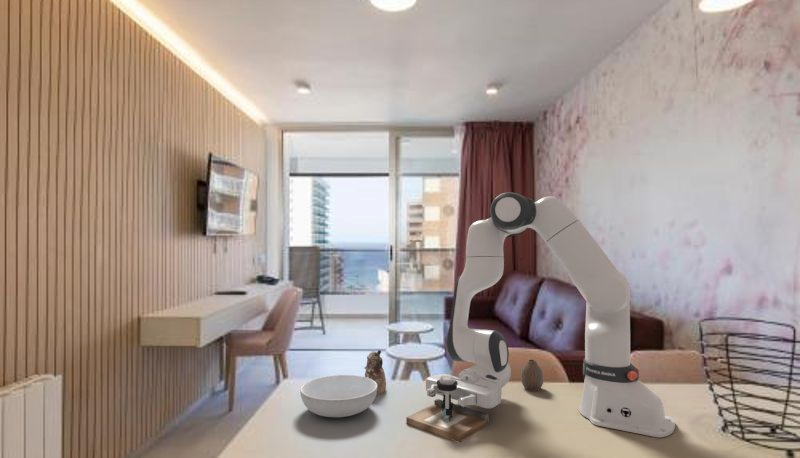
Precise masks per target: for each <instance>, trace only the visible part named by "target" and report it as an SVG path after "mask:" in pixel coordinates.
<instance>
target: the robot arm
mask: <svg viewBox="0 0 800 458" xmlns="http://www.w3.org/2000/svg"><path fill="white" fill-rule="evenodd" d="M489 213H490V217H489V218H486V219H481V220H477V221H475V222H473V223H471V225H470V226H469V227H468V233H467V236H466V237H467V238H466V244H465V245H466V247H465V248H466V249H465V265H464V269H463V271H462V273H461V275H459V276H458V277H457V279H456V282H455V286H454V289H453V290H454V291H453V297H452V304H451V311H450V319H449V326H448V329H447V334H446V336H445V343H444V344H445V350H446V353H447V354H448V355H449V357H450V358H451V359H452V360H453V361H455V362H463V363H464V362H466V363H467V362H468V363H469V362H470V363H474V365H472V366H471V367H468V368H465V369H463V370H461V371H460V372H459V373H458V375H457V376H455V375H452V374H448V373H438V374H434V375H431V376H428V377H426V379H425V390H426V395H427V396H428V397H430V398H434V397H436V395H437V396H441V397H443V394H444V392H442V391H441V390H439V389H438V388H437V381H438V380H440V378H441V377H443V376H450V377H453V378H454V380H455V381H457V382H458V385H457V389H456V390H454V391H453V392H450V394H451V400H456V401H457V405H460V406H463V407H465V406H472V405H473V406H477V407H479V408H483V409H488V410H489V409H493V408H494V407H497V406H498V405H500V404H501V403H502V394H503V393H502V389H503V388H504V387H505V386H506V385H507V384H508V383H509V381H510V378H511V375H512V371H511V366H510V364H509V363H508V362H509V356H510V355H509V354H510V353H509V345H508V343H507V340H506V339H505V337H504V335H502V333H501V332H499V331H498V330H492V329H483V328H482V329H479V328H469V326H468V323H469V314H470V307H471V301H472V299H473V298H474V297H475V295H476V294H479V293H480V292H482V291H484V290H486V289H489V288H491V287H493V286H494V285H496V284H497V283H498V282H499V281H500V279H501V278H502V276H503V275H504V267H505V264H504V263H505V258H504V256H505V255H504V254H505V253H504V243H505V240H506V239H507V238H508V239H509V238H511V237H513V236H518V235H520V234H522V233H525V232H526V231H527V230H528V229H529V228H530V229H531V230H534V231H535V232H536V233H537V234H538V235H539V236H540V238H541V239H542V240H543V242H544V244H546V246H547V247H548V249H549V250H550V251H551V252H552V253H553V255H554V256H555V258H556V259H557V260H558V261H559V263H560V264H561V266H562V267H563V269H564V270H565V271H566V273H567V275H568V277H569V278H570V280H571V281H572V283H573V284H574V285H575V287H576V288H577V290H578V292H579V294H580V295H581V296H582V297H583V299H584V300H585V301H586V302H585V303H586V304H585V305H586V306H585V323H584V325H585V327H584V330H585V331H584V341H585V342H584V350H585V351H584V358H583V363H582V375H583V380H584V382H583V391H582V395H581V396H582V397H581V401H580V405H579V407H578V411H579V413H580V414H581V415H582V416H583V417H584V418H587V419H588V420H589V421H590V422H591V423H592V424H593V425H595V426H598V427H604V428H609V429H614V430H619V431H624V432H628V433H629V432H630V433H634V434H639V435H643V436H650V437H654V438H665V437H668V436H670V435H672V433H674V431H675V428H676V424H675V420H674V419H673V417H671V416H670V415H666V414H665V409H664V405H663V404H664V403H663V401H662V399H661V398H660V396H659V395H657V393H655V392H654V391H653V390H651V389H650V388H649V387H648V386H647V385H646V384H644V383H643V382H642V381H641V380H640V366H637V367H635V365H633V364H632V363H631V315H630V314H631V310H630V309H631V305H630V304H631V302H630V301H631V299H630V298H631V287H630V283H629V281H628V279H627V277H626V275H624V274H623V273H622V272H621V271H620V270H618V269H617V267H616V266H615V265H614V263H613V262H612V261H611V260H610V258H609V257H608V255H607V254H606V253H605V252H604V249H602V247H601V246H600V245H599V243H598V242H597V240H596V239H595V238H594V237H593V236H592V234H590V232H589V231H588V229H587V228H586V227H585V226H584V224H583V223H582V222H581V220H580V219H579V218H578V217H577V216H576V215H575V213H574V212H573V211H572V210H571V209H570V208H569V207H568V206H567V205H566V204H565V203H563V202H562V200H560V199H559V198H557V197H556V196H552V195H549V196H545V197H542V198H540V199H538V200H537V201H534V200H533V199H532V198H529V197H526V196H524V195H521V194H519V193H516V192H510V191H509V192H508V191H507V192H503V193H500V194H499V195H498V196H496V197H495V199H493V201H492V202H491V205H490V209H489Z"/></svg>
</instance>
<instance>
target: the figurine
mask: <svg viewBox="0 0 800 458" xmlns="http://www.w3.org/2000/svg"><path fill="white" fill-rule="evenodd" d="M381 353H382V350H380V349H379V350H377V351H371V352H369V354H367V356H366V358H367V359H366V360H367V361H366V366H364V369H365V372H364V377H366V378H369V379H372V380H374V381H375V382H376V383H377V393H376V395H380V394H383V393H385V392H386V390H387V379H386V374H385V370H384V367H383V363H384V362H383V358H382V357H381V356H380V355H381Z"/></svg>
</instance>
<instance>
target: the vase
mask: <svg viewBox="0 0 800 458" xmlns="http://www.w3.org/2000/svg"><path fill="white" fill-rule="evenodd" d="M544 378H545V376H544V372H543V370H542V368H541V366H539V364H538V362H537V360H536V359H528V360H527V362H526V364H525V365H524V366H523V367H522V369H521V372H520V380H521V383H522V386H523V387H524V389H526V390H527V391H530V392H531V391H533V392H534V391H536V392H537V391H539V390H540V389H541V388H542V387H543V385H544V382H545V379H544Z"/></svg>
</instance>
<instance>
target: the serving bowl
mask: <svg viewBox="0 0 800 458" xmlns="http://www.w3.org/2000/svg"><path fill="white" fill-rule="evenodd" d="M299 391H300V398H301V401H302V402H303V405H304V406H305V408H306V409H307V410H309V412H311V413H313V414H316V416H317V415H318V416H320V417H326V418H344V417H351V416H355V415H358V414H360V413H362V412H363V411H365V410H367V409H368V408H369V407H370V406H371V405H372V404H373V402H374V401H375V398H376V396H377V394H376V393H377V383H376V382H375V381H374V380H372V379H369V378H366V377H365V376H362V375H354V374H336V375H327V376H321V377H319V378H318V377H317V378H314V379H312V380H308V381H307V382H305V383H304V384H303V385H301V386H300V389H299Z"/></svg>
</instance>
